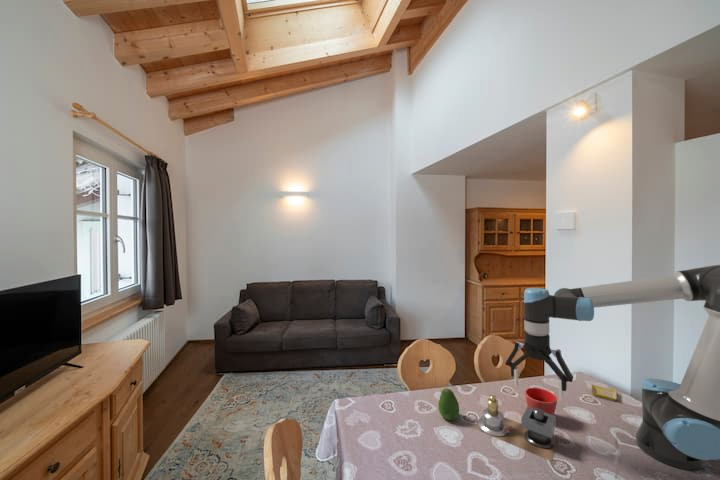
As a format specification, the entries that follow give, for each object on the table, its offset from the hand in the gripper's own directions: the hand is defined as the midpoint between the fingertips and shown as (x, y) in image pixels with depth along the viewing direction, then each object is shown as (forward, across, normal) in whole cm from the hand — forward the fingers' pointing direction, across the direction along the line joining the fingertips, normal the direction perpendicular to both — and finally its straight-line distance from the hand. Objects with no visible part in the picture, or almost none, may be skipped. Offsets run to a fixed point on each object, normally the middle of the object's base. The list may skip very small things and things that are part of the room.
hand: (537, 392), depth 102 cm
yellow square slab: (+18, -16, -51) cm, 57 cm away
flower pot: (+18, +2, -15) cm, 23 cm away
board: (+18, +7, +2) cm, 19 cm away
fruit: (+18, +30, +8) cm, 36 cm away
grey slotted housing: (+12, 0, 0) cm, 12 cm away
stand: (+17, 0, 0) cm, 17 cm away
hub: (+17, +14, +3) cm, 22 cm away
